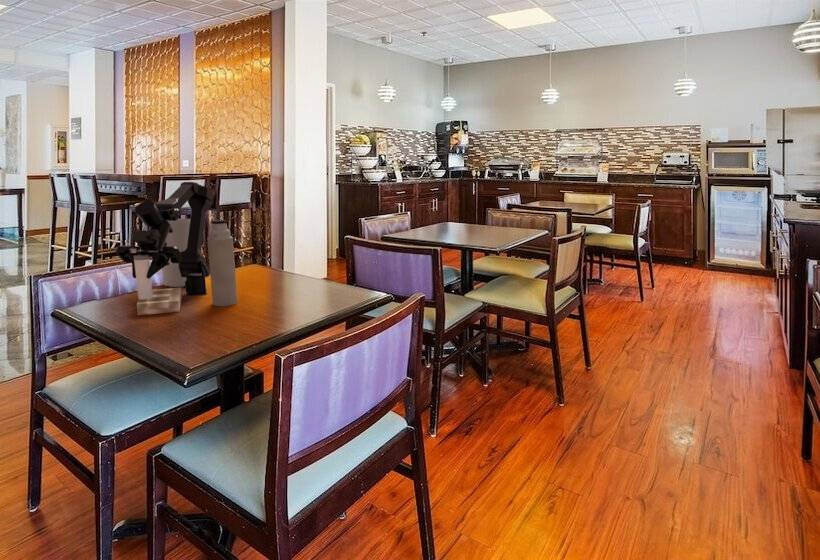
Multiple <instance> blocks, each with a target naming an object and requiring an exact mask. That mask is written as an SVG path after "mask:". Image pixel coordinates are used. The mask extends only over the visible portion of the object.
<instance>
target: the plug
mask: <svg viewBox="0 0 820 560" xmlns="http://www.w3.org/2000/svg"><path fill="white" fill-rule="evenodd" d="M134 264H135V273H136V278H135V279H136V280H135V281H136V287H137V288H136V289H137V299H141V300H145V299H151V298H153V292H152V290H153V285H152V284H153V283H152V277H151V278H149V279H148V278H147V273H148V270H149V267H150V265H151V263H150V258H149V255H135V256H134Z"/></svg>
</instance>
